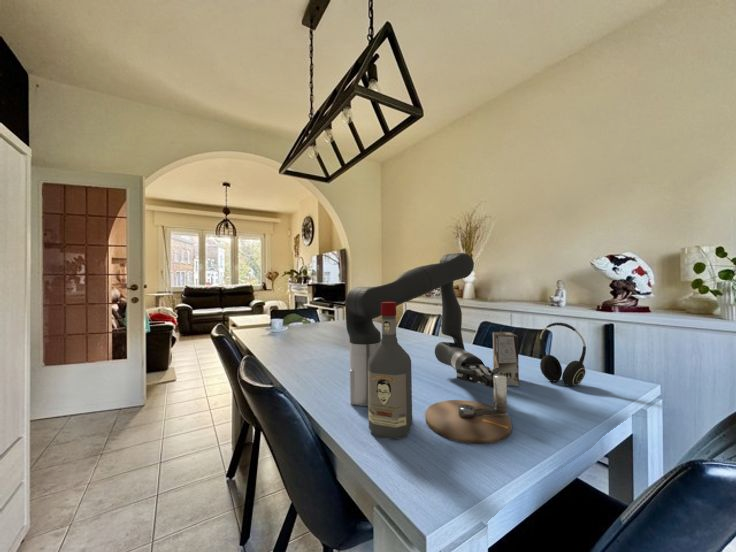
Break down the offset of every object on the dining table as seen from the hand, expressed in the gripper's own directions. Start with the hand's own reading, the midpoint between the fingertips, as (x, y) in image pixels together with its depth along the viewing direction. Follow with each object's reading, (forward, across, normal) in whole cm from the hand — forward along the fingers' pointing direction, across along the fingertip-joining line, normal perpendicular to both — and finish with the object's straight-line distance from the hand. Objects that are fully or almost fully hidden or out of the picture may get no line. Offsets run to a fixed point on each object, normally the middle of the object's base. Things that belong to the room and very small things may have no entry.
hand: (492, 384), depth 78 cm
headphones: (-22, +34, +9) cm, 41 cm away
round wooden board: (+2, -7, +8) cm, 11 cm away
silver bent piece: (+2, -3, +7) cm, 8 cm away
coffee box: (-26, +17, +9) cm, 32 cm away
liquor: (+4, -26, +9) cm, 28 cm away
